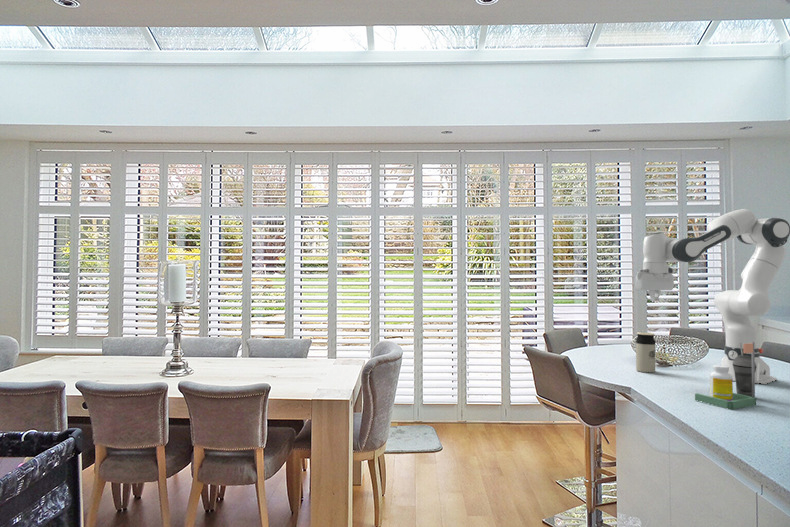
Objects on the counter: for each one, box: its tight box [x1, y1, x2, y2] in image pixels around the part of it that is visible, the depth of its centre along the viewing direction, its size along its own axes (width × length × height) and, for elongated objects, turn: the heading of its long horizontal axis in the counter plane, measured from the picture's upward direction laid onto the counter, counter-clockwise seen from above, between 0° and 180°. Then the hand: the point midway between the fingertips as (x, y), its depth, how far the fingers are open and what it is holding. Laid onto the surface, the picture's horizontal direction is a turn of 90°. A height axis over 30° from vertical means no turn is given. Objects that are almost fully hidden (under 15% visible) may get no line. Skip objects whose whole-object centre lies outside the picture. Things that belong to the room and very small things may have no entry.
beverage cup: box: [733, 343, 756, 397], centre depth 174 cm, size 7×7×20 cm
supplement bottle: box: [709, 364, 734, 401], centre depth 166 cm, size 7×7×13 cm
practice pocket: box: [694, 342, 757, 410], centre depth 165 cm, size 14×12×22 cm
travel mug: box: [635, 331, 656, 374], centre depth 218 cm, size 8×8×18 cm
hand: (654, 300), depth 203 cm, fingers closed
